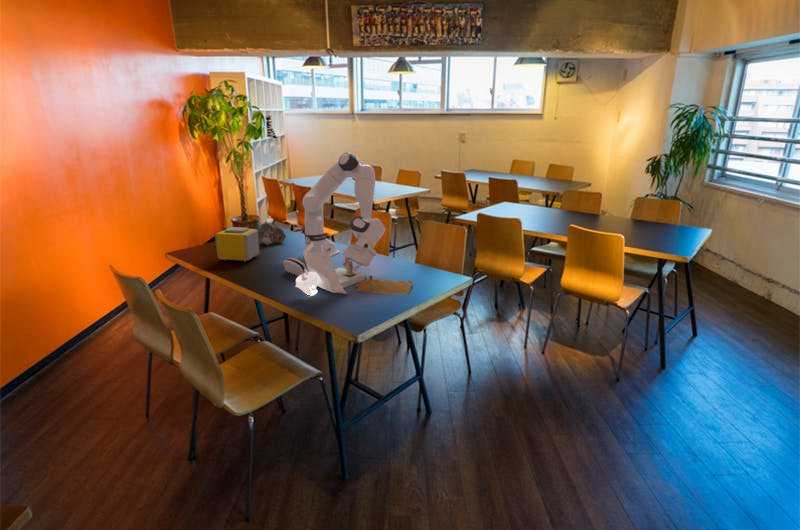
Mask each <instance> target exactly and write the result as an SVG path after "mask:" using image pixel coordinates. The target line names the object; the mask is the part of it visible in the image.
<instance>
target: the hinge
mask: <svg viewBox="0 0 800 530" xmlns="http://www.w3.org/2000/svg"><path fill="white" fill-rule="evenodd" d="M282 263H283V266H284V269H285V272H286V271H287V273H289V272H290V273H289V274H291V273H292V275H294V274H295V276H297V275H298V276H300V275H302V274H304V273H305V271H304V269H307V271H308V268H307V265H306V263H304V262H302V261H301V260H299V259H297V258H294V257H289V258H287V259H285V260H283V262H282ZM298 276H297V277H298Z"/></svg>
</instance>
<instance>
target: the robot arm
mask: <svg viewBox="0 0 800 530" xmlns="http://www.w3.org/2000/svg"><path fill="white" fill-rule="evenodd" d="M348 178H352V180H353V181H354V186H353V187H354V195H355V198H356V200H357V202H358V204H359V208H360V215H357V216H355V217H353V218H352V219H350V222H349V227H350V230H351V232H352V234H353V235H354V236H355V239H356V242H354V243H351V244H350V245H348V246H347V247H346V249H345V250H344V251H343V252H342V256H343V257H344V259H343V262H342V264H341V265H342V267H345V268H346V263H347V262H348V261H351V262H354V263H356V265H354V266H353V268H352V270H353V271H355V272H357V270H358V269H359V268H361V267H362V266H363V267H367V266H369V265H370V263H372V261H373V259H374V258H375V256H376V255H377V254H378V253H377V251H376V250H375V249H374V248H375V247H376V245H377V243H378V242H379V241H380V240H381V238H382V237H383V235H384V233H385V231H386V226H385V223H384V222H383V221H382V220H381V219H380V218H378V217H376V218H375V217H374V218H373V205H374V204H373V203H374V196H375V187H376V173H375V169H374V167H373V166H371V165H369V164H366V163H365V162H364V161H363V160H361V159H360V158H359V157H357V156H356V155H355V154H354V153H352V152H344V153H343V154H342V155H340V157H339V159H338V160H337V161H336V162H335V163H334V164H332V165H331V166H330V167H329V168H328V170H327V171H326V172H325V173H323V175H322V176H321V177H320V178H319V179H318V181H317V182H316V183H315V184H314V185H313V186H312V187H311V189H310V190H309V191H307V192H306V193H305V195H304V196H303V199H302V207H303V209H304V240H305V241H304V242H305V243H304V244H305V247H304V251H305V250H306V249H307V246H308V245H309V243H310V241H313V247H312V249H311V251H310V252H311V253H317V252H330V255H329V258H330V257H333V256H335V255H338V254H339V253H340V250H338V249H336V244H335V243H334V242H333V241H332V240H330V239H329V238H327V237H329V236H330V233H329V232H325V229H324V227H325V226H324V205H325V204H326V202H327V201H328V200H329V199H330V198H331V197H332V195H333V194H334V193H335V192H336V191H337V190H338V189H339V187H340V186H341V185H342V184H343V183H344V182H345V181H346V180H347V179H348Z"/></svg>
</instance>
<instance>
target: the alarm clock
mask: <svg viewBox="0 0 800 530" xmlns="http://www.w3.org/2000/svg"><path fill="white" fill-rule="evenodd" d="M257 230H258V229H256V228H249V227H242V226H241V227H240V226H238V227H237V226H230V227H228V228H226V229H223V230H221V231H218V232H216V233H215V234H214V239H215V247H216V254H217V256H216V257H217V259H218V260H224V262H226V261H228V260H229V261H243V262H245V263H247V262H248V261H249V260H251V259H253V257H254V258H255V257H256V256H258V255H260V252H261V251H260V243H259V240H260V239H258V231H257ZM246 261H247V262H246Z"/></svg>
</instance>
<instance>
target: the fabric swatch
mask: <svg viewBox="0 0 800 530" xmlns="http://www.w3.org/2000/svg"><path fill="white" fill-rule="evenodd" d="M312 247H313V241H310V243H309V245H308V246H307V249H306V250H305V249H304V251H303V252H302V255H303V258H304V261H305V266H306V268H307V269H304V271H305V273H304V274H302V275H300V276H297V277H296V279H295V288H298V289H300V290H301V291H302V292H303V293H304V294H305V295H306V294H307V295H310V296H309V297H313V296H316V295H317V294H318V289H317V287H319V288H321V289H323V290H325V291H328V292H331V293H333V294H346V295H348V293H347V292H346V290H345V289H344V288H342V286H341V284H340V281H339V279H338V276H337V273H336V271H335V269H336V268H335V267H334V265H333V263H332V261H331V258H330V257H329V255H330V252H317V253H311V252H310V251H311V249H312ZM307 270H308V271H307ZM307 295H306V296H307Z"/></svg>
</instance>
